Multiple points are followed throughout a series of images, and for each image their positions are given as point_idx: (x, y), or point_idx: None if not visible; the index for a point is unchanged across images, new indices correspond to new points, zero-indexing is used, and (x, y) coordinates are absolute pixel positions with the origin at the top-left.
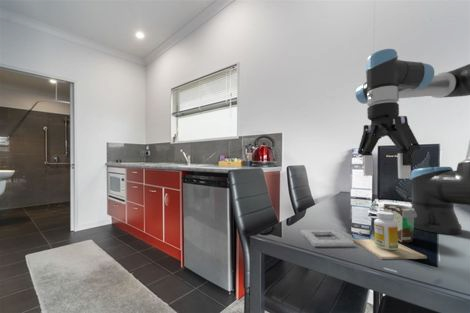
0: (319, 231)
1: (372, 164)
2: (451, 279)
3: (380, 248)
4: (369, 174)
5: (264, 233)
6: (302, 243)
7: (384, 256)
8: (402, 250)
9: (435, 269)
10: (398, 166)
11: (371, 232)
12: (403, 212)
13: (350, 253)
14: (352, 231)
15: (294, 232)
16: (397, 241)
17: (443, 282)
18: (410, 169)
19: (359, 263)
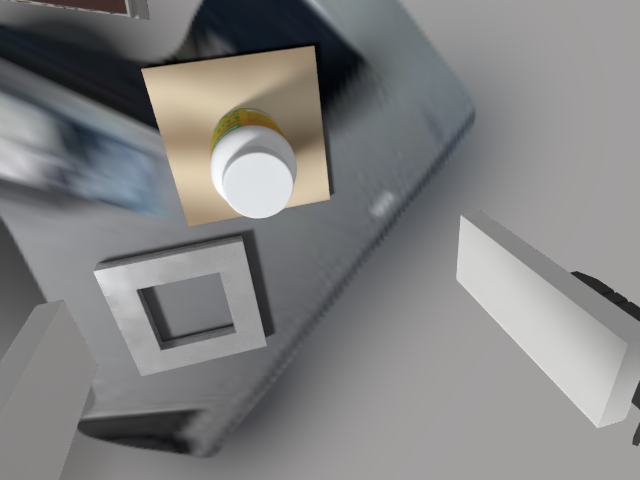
0: (142, 323)
1: (13, 401)
2: (429, 84)
3: None
4: (78, 340)
5: (179, 447)
6: (243, 362)
7: (327, 189)
8: (272, 101)
9: (381, 81)
10: (514, 332)
11: (12, 88)
12: (133, 13)
13: (297, 261)
14: (35, 180)
15: (140, 382)
16: (277, 125)
17: (440, 117)
18: (526, 243)
19: (355, 259)
